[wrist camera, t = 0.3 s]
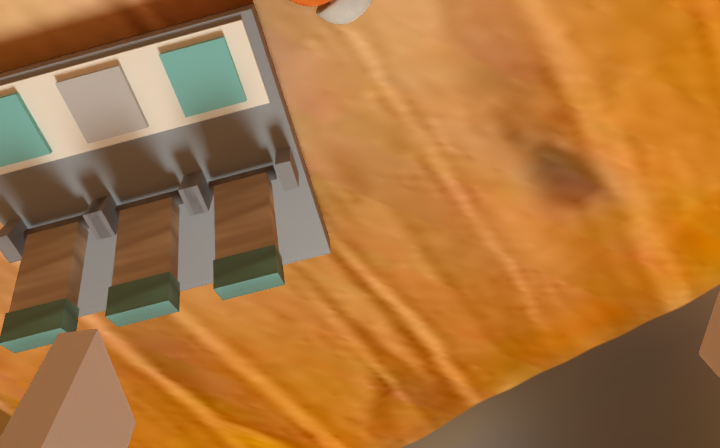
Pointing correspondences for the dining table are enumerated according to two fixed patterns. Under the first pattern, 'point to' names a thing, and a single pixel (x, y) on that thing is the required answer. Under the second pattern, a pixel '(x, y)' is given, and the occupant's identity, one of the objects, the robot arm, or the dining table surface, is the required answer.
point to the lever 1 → (46, 285)
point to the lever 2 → (145, 260)
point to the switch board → (151, 142)
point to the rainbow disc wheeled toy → (337, 9)
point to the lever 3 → (245, 234)
